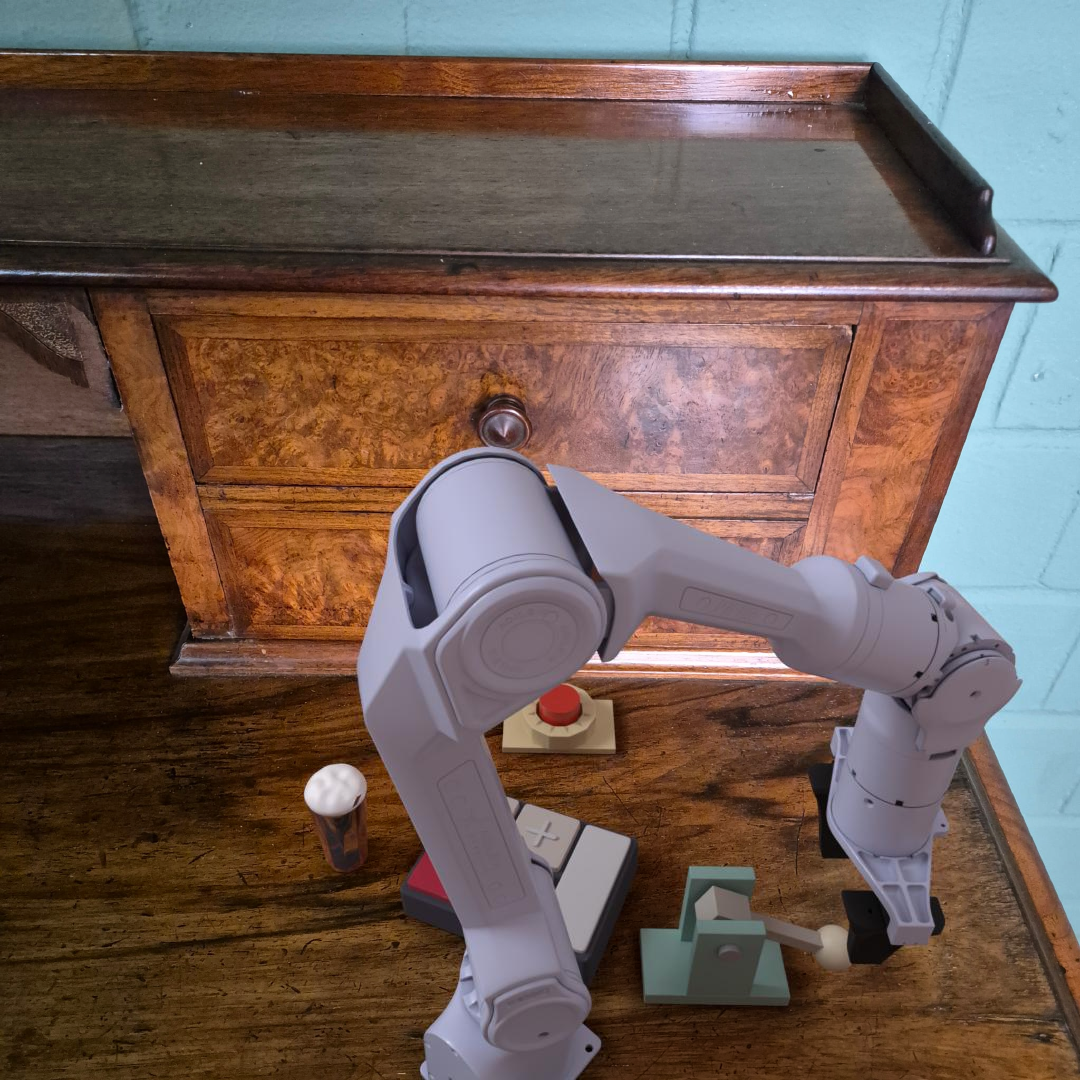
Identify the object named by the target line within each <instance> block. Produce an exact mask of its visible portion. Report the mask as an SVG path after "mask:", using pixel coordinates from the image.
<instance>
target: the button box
mask: <svg viewBox="0 0 1080 1080" xmlns="http://www.w3.org/2000/svg"><path fill="white" fill-rule="evenodd" d="M562 684H565V685H568V686H571V687H572V688H574V689H575V690H576V691H577V692H578V694H579V696H580V708H579V716H578V718H577V720H576V721H575V722H574V723H572V724H570V725H568V726H563V727H561V726H552V725H549V724H547V723H546V722H544V721H543V720H542V718H541V716H540V714H539V698H538V699H537V700H535V701H534V702H532V703H531V704H529V705H528V706H526V707H524V708H523V709H521V710H520V711H518V712H517V713H515V714H514V715H512V716H510V717H509V718H507V719H506V720H504V721H503V728H502V729H503V730H502V731H503V732H502V733H503V734H502V745H501V747H502V748H501V749H502V750H501V751H502V753H516V754H517V753H522V754H575V755H576V754H577V755H578V754H580V755H582V754H583V755H584V754H585V755H616V751H617V750H616V749H617V747H616V733H615V732H616V731H615V718H614V703H613V699H592V696H590V694H589V693H588V692H587V691H586V690H585V689H582V688H580V687H578V686H575V685H573V684H571V683H566V682H563V683H562Z"/></svg>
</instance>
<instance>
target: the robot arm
mask: <svg viewBox="0 0 1080 1080" xmlns="http://www.w3.org/2000/svg"><path fill="white" fill-rule="evenodd" d="M546 468H547V470H548V472H549V473H550V476H551V478H552V480H553V482H554V484H555V485H552V486H551V485H549V484H548V482H547V479H546V477H545V475H544V473H543V472H542V471H541V469H540V468H539V466H537V464H535V463H534V462H533V460H531V459H529V458H528V457H526V456H525V455H523V454H521V453H519V452H517V451H516V450H512V449H508V448H504V447H500V446H499V447H498V446H478V447H471V448H468V449H464V450H460V451H459V452H456V453H454V454H452V455H450V456H448V457H446V458H444V459H442V460H441V461H440V462H438V463H437V464H436V465H434V466H433V467H432V468H431V469H430V470H429V471H428V472H427V473H426V474H425V475H424V477H423V478H422V479H421V480H420V481H419V482H418V484H417V485H416V486H415V487H414V488H413V490H412V491H411V492H410V493H409V495H407V497H406V498H405V499H404V500H403V501H402V502H401V504H400V505H399V506H398V507H397V508H396V510H395V511H394V512H393V514H392V515H391V518H390V525H389V533H388V534H389V535H388V541H387V542H388V543H387V552H386V559H385V565H384V570H383V573H382V577H381V579H380V583H379V587H378V590H377V593H376V597H375V599H374V603H373V606H372V610H371V613H370V617H369V620H368V623H367V627H366V630H365V633H364V637H363V640H362V642H361V643H362V644H361V646H360V650H359V653H358V657H357V661H356V673H357V683H358V691H359V698H360V703H361V708H362V714H363V720H364V725H365V727H366V729H367V731H368V733H369V736H370V737H371V739H372V741H373V744H374V747H375V748H376V750H377V752H378V754H379V756H380V758H381V760H382V762H383V765H384V766H385V769H386V771H387V773H388V775H389V778H390V779H391V781H392V784H393V785H394V787H395V790H396V792H397V794H398V795H399V798H400V800H401V802H402V804H403V806H404V808H405V810H406V812H407V814H408V817H409V818H410V821H411V823H412V825H413V827H414V829H415V831H416V833H417V835H418V837H419V839H420V842H421V843H422V845H423V849H424V848H425V850H426V852H427V854H428V856H429V858H430V860H431V862H432V864H433V866H434V868H435V871H436V873H437V875H438V877H439V879H440V881H441V883H442V885H443V887H444V889H445V891H446V893H447V896H448V898H449V900H450V902H451V904H452V906H453V908H454V910H455V912H456V914H457V916H458V918H459V920H460V923H461V925H462V928H463V933H464V937H463V938H464V943H465V950H464V954H463V956H462V957H463V958H462V962H461V966H460V969H459V980H458V982H457V983H458V984H457V986H456V988H455V991H454V994H453V996H452V997H451V1000H450V1001H449V1003H448V1004H447V1005H446V1007H445V1009H444V1010H443V1012H441V1014H440V1015H439V1016H438V1018H436V1020H434V1022H433V1023H432V1024H431V1025H430V1026H429V1027H428V1028H427V1030H426V1031H425V1032H424V1035H423V1046H424V1055H425V1060H424V1061H423V1062H422V1063H421V1065H420V1067H419V1072H420V1075H421V1077H422V1078H423V1079H424V1080H577V1078H578V1077H579V1076H580V1075H581V1074H582V1072H583V1071H584V1070H585V1068H587V1066H588V1065H589V1064H590V1063H591V1061H592V1060H593V1059H594V1058H595V1056H596V1055H597V1054H598V1053H599V1052H600V1051H601V1048H602V1040H601V1039H600V1037H599V1036H598V1035H596V1034H595V1033H594V1032H593V1031H592V1030H590V1028H588V1027H587V1026H586V1025H585V1024H584V1021H585V1020H586V1019H587V1018H588V1015H589V1014H590V1012H591V1009H592V996H591V994H590V991H589V990H588V988H586V986H585V985H584V984H583V980H582V977H581V974H580V971H579V967H578V964H577V961H576V957H575V954H574V951H573V947H572V944H571V941H570V937H569V934H568V931H567V928H566V924H565V921H564V918H563V914H562V911H561V908H560V904H559V901H558V898H557V894H556V891H555V888H554V885H553V879H554V876H553V872H552V869H551V866H550V865H549V863H548V862H547V861H546V860H545V859H544V858H543V857H541V856H539V855H537V854H535V853H533V852H532V851H531V850H530V849H529V848H528V847H527V845H526V842H525V840H524V837H523V836H522V835H520V833H519V830H518V827H517V825H516V822H515V819H514V816H513V814H512V811H511V808H510V805H509V803H508V800H507V797H506V796H507V795H506V792H505V790H504V789H505V788H504V786H503V784H502V781H501V778H500V776H499V773H498V770H497V767H496V765H495V761H494V759H493V756H492V753H491V751H490V748H489V745H488V743H487V740H486V737H485V733H487V732H489V731H490V730H492V729H494V728H496V726H498V725H500V724H501V723H504V720H506V719H507V718H509V717H510V716H512V715H514V714H515V713H517V712H518V711H520V710H521V709H523V708H524V707H526V706H528V705H529V704H531V703H532V702H534V701H535V700H537V699H538V698H540V697H542V696H543V695H545V694H546V693H548V692H549V691H551V690H552V689H554V688H556V687H557V686H559V685H560V684H562V683H566V681H567V680H569V679H570V678H572V676H574V675H575V674H576V673H578V672H579V671H581V670H582V669H583V668H584V667H585V666H586V665H587V664H588V663H589V662H590V661H591V659H592V658H593V657H594V655H595V654H597V655H598V657H599V660H600V662H601V663H602V664H603V663H605V664H606V663H609V662H612V661H614V660H615V659H616V658H617V656H618V655H619V654H620V653H621V651H622V650H623V648H625V646H626V645H627V643H628V642H629V641H630V639H631V638H632V637H633V635H635V632H636V631H637V630H638V629H639V627H640V626H641V625H642V624H643V622H644V621H645V620H646V619H647V618H649V617H657V618H661V619H662V618H663V619H666V620H673V621H678V622H683V623H687V624H692V625H697V626H702V627H707V628H714V629H717V630H724V631H729V632H734V633H739V634H745V635H749V636H755V637H758V638H759V637H760V638H764V639H768V642H769V644H770V647H771V649H772V651H773V653H774V655H775V656H776V658H777V659H778V660H779V661H780V662H781V663H782V664H783V665H785V667H788V668H789V669H790V670H791V669H792V670H794V671H796V672H800V673H803V674H807V675H811V676H815V677H819V678H822V679H827V680H830V681H833V682H834V681H835V682H837V683H841V684H845V685H848V686H852V687H856V688H860V689H863V690H864V693H863V696H862V700H861V703H860V707H859V710H858V714H857V717H856V720H855V724H854V726H835V727H834V730H833V735H832V736H831V737H832V738H831V741H830V745H829V747H830V750H831V754H832V756H833V757H834V759H832V760H831V762H816V763H813V764H811V765H810V766H809V768H808V769H807V776H808V779H809V783H810V787H811V790H812V793H813V796H814V797H815V799H816V806H817V814H818V815H817V817H818V844H819V851H820V855H821V858H822V859H831V860H833V859H835V860H839V859H840V860H850V861H851V862H852V864H853V865H854V867H856V870H857V871H858V872H859V873H860V875H861V876H862V877H863V879H864V880H865V882H866V883H867V885H868V886H869V887H870V890H868V889H867V890H866V889H863V890H862V889H842V890H841V892H840V896H841V899H842V903H843V906H844V911H845V915H846V917H847V921H848V938H847V952H848V956H849V960H850V963H851V964H852V965H872V966H873V965H880V966H881V965H882V964H883V963H884V962H885V961H886V960H888V959H889V958H890V957H891V956H892V955H893V954H895V953H896V952H897V951H898V950H900V949H901V948H904V947H905V946H927V945H928V942H929V941H930V939H931V938H932V937H936V936H939V935H941V934H942V932H943V930H944V928H945V927H946V917H945V914H944V911H943V909H942V906H941V904H940V900H939V898H938V896H934V895H930V894H931V878H932V877H931V876H932V861H933V860H932V859H933V840H934V839H943V838H946V837H947V835H948V833H949V831H950V824H949V821H948V818H947V816H946V814H945V812H944V809H943V808H942V805H943V803H944V799H945V796H946V794H947V792H948V790H949V787H950V785H951V783H952V780H953V778H954V775H955V772H956V771H957V768H958V765H959V762H960V760H961V758H962V755H963V753H964V750H965V749H966V748H969V747H971V746H972V745H973V744H974V742H975V741H976V740H977V739H980V737H981V736H982V733H983V731H984V728H985V727H986V725H987V723H988V722H989V721H990V720H991V718H992V717H994V716H995V715H996V714H997V713H998V712H999V711H1001V710H1002V709H1003V708H1005V706H1007V704H1009V703H1010V701H1011V700H1012V699H1013V698H1014V697H1015V695H1016V694H1017V692H1018V691H1019V690H1020V688H1021V686H1022V684H1023V682H1024V680H1023V679H1022V678H1019V676H1018V674H1017V668H1016V667H1015V666H1016V654H1015V653H1014V649H1013V647H1012V646H1011V644H1009V643H1008V642H1007V641H1006V639H1005V638H1004V637H1003V636H1001V635H1000V633H999V632H998V631H997V630H996V629H995V628H994V627H993V626H991V624H990V623H989V622H988V621H987V620H986V619H985V618H984V616H982V615H981V613H979V612H978V611H977V609H975V608H974V607H973V605H972V604H970V602H968V600H967V599H966V598H965V597H964V596H963V595H962V593H960V592H959V591H958V590H957V589H956V588H955V587H954V586H952V585H951V584H950V583H948V582H947V581H946V580H945V579H944V578H942V577H940V576H939V574H938V573H937V572H935V571H921V572H915V573H912V574H908V575H906V576H903V577H900V578H894V576H893V575H892V574H891V573H890V571H888V570H887V568H886V567H885V566H884V565H883V564H882V563H881V562H880V560H878V559H874V558H872V557H869V556H867V555H860V556H859V557H858V558H857V559H856V560H855V562H854V563H851V562H848V561H845V560H843V559H840V558H837V557H835V556H831V555H827V554H815V555H811V556H807V557H805V558H802V559H801V560H798V561H796V562H795V563H793V564H792V565H790V566H787V565H785V564H783V563H780V562H777V561H775V560H773V559H770V558H769V557H766V556H764V555H761V554H758V553H756V552H753V551H751V550H749V549H747V548H745V547H742V546H740V545H737V544H735V543H733V542H729V541H728V540H725V539H723V538H720V537H717V536H715V535H713V534H711V533H708V532H706V531H704V530H701V529H698V528H696V527H694V526H692V525H689V524H686V523H684V522H681V521H679V520H677V519H675V518H672V517H669V516H667V515H666V514H662V513H660V512H658V511H655V510H653V509H651V508H649V507H645V506H644V505H641V504H639V503H637V502H635V501H633V500H631V499H629V498H627V497H625V496H623V495H622V494H620V493H618V492H616V491H614V490H612V489H611V488H609V487H607V486H606V485H603V484H602V483H600V482H599V481H596V480H594V479H592V478H590V477H589V476H587V475H585V474H583V473H581V472H580V471H578V470H576V469H574V468H571V467H568V466H565V465H564V466H563V465H558V464H553V463H546ZM587 1048H590V1049H591V1050H592V1051H589V1052H588V1051H587V1050H586V1049H587Z"/></svg>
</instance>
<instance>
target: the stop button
mask: <svg viewBox="0 0 1080 1080" xmlns="http://www.w3.org/2000/svg"><path fill="white" fill-rule="evenodd" d="M579 708H580V696H579V694H578V692H577V691H576V690H575V689H574V688H572V687H571V686H568V685H565V684H560V685H559V686H557V687H556V688H554V689H552V690H551V691H549V692H548V693H546V694H545V695H543V696H542V697H540V698H539V714H540V716H541V718H542V720H543V721H544V722H546V723H547V724H549V725H552V726H561V727H563V726H568V725H570V724H572V723H574V722H575V721H576V720H577V718H578V716H579Z"/></svg>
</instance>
